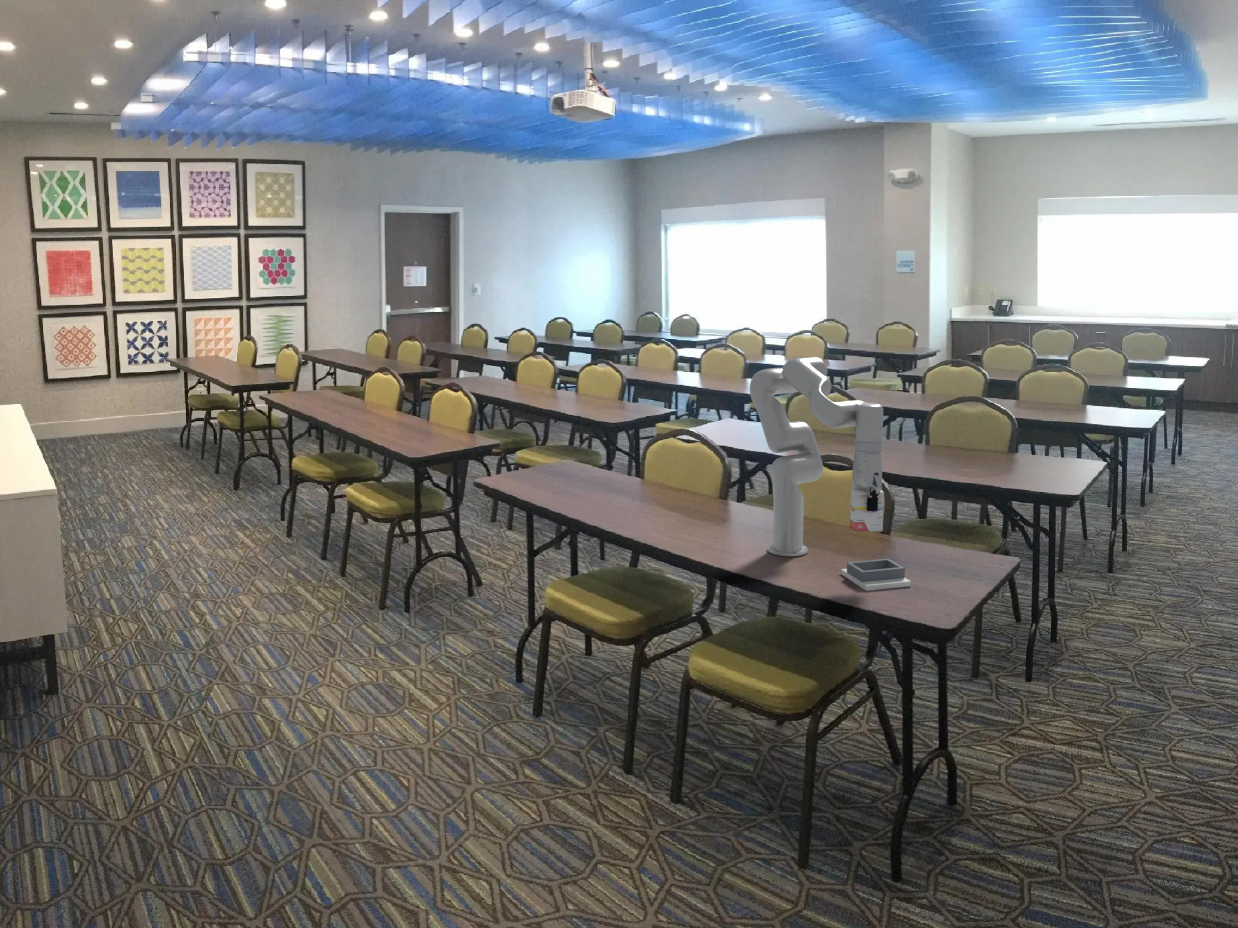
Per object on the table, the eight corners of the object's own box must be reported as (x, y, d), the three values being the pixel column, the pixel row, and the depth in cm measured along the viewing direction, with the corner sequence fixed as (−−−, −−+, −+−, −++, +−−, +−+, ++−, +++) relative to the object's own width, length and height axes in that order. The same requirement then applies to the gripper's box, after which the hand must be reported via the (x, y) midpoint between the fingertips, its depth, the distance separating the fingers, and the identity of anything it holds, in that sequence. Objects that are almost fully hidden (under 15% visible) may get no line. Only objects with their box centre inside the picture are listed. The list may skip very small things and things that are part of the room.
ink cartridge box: (853, 532, 276) (855, 482, 274) (849, 527, 281) (850, 478, 279) (883, 531, 276) (884, 481, 274) (878, 527, 281) (880, 477, 279)
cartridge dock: (840, 573, 288) (841, 559, 287) (883, 569, 291) (883, 555, 290) (866, 590, 272) (866, 575, 271) (910, 586, 275) (911, 571, 275)
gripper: (843, 442, 282) (842, 502, 285) (870, 452, 265) (868, 516, 269) (867, 441, 283) (865, 500, 287) (895, 451, 267) (893, 514, 270)
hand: (867, 507), depth 278 cm, fingers closed on ink cartridge box, 5 cm apart
